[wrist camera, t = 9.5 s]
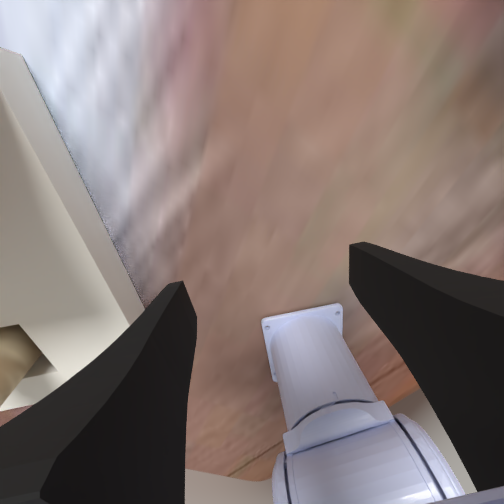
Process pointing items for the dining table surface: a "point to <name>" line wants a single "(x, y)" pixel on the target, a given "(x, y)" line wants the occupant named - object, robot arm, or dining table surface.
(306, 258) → the dining table surface
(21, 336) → the peg
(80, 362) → the station
